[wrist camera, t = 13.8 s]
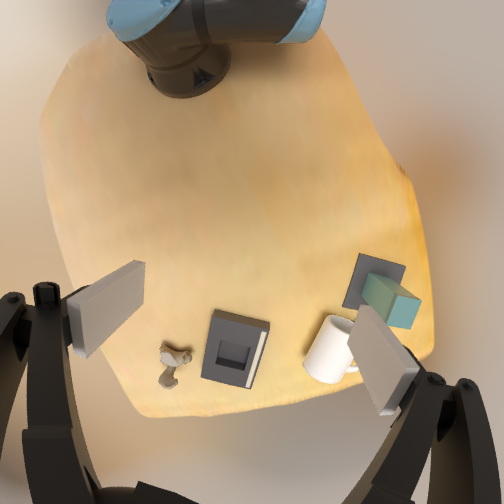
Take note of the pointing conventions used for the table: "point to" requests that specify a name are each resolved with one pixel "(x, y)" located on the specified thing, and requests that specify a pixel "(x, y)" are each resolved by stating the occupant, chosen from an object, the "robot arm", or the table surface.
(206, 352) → the grey socket block
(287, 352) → the table surface
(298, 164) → the table surface
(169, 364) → the bone
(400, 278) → the mat
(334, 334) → the mug
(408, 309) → the plug
